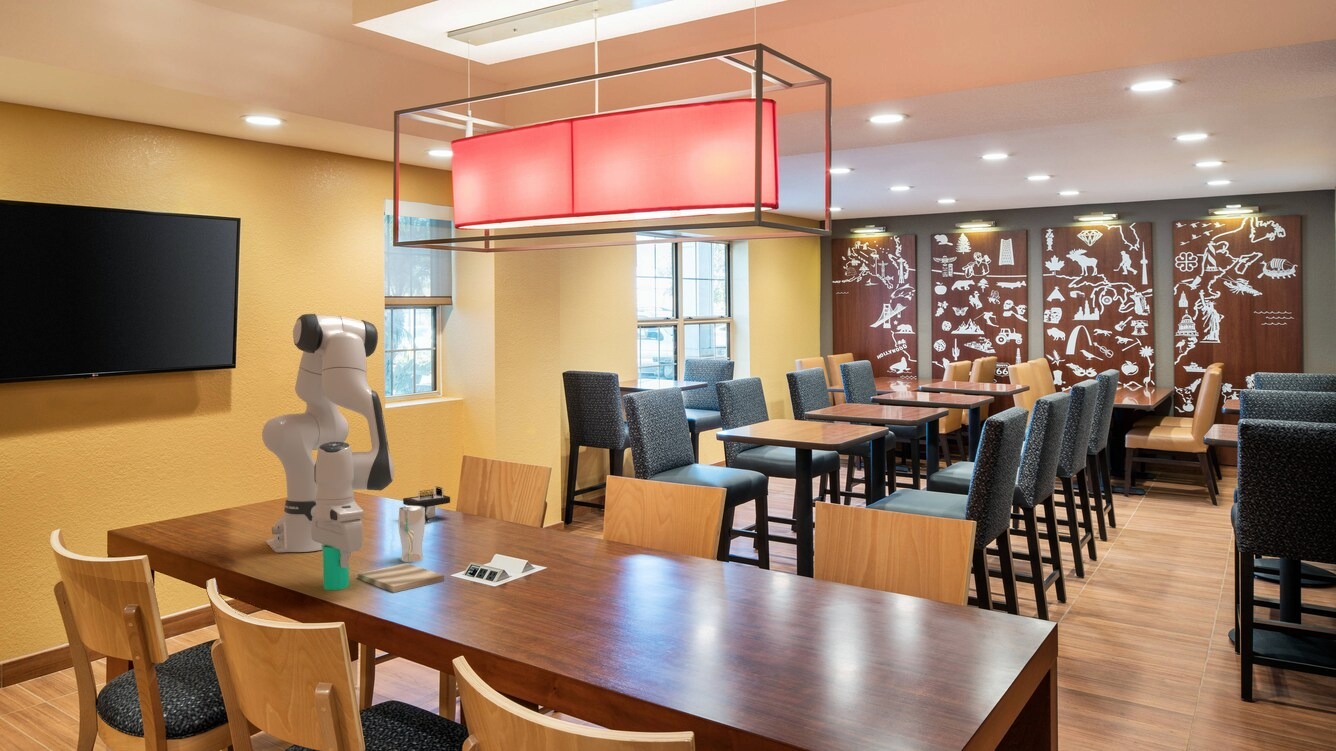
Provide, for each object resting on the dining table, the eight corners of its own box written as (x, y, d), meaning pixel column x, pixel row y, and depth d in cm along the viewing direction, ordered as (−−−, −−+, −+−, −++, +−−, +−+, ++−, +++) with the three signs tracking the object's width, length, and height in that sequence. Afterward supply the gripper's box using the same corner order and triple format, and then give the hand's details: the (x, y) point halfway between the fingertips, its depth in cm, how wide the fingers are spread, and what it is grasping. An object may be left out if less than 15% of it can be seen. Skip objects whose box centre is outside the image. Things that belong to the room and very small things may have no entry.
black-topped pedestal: (406, 542, 266) (405, 498, 266) (370, 529, 286) (369, 488, 285) (486, 528, 285) (486, 488, 285) (448, 517, 305) (447, 479, 304)
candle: (344, 582, 220) (343, 535, 219) (352, 587, 215) (351, 539, 215) (320, 586, 216) (319, 538, 215) (327, 591, 211) (326, 542, 211)
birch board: (357, 579, 222) (357, 573, 222) (407, 568, 233) (407, 563, 233) (393, 592, 210) (393, 586, 210) (444, 581, 220) (444, 575, 220)
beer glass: (417, 565, 236) (416, 510, 236) (394, 564, 238) (393, 509, 237) (429, 559, 243) (429, 505, 243) (406, 558, 244) (406, 505, 244)
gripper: (304, 505, 219) (305, 559, 220) (342, 515, 205) (343, 574, 206) (328, 501, 224) (329, 555, 225) (367, 512, 210) (368, 569, 210)
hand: (336, 564), depth 215 cm, fingers open, 6 cm apart
